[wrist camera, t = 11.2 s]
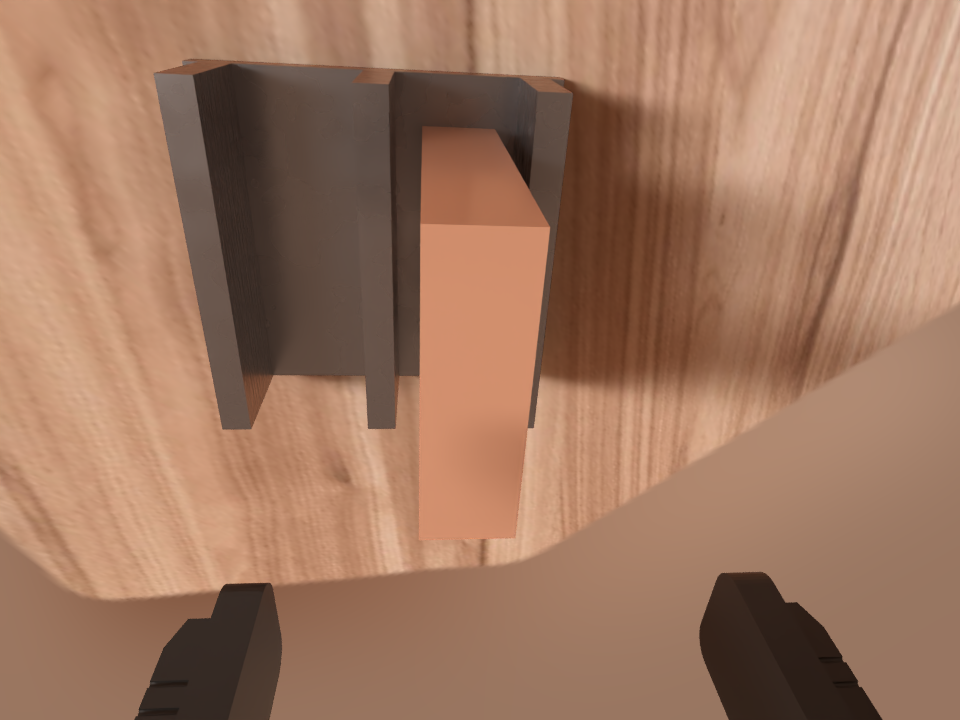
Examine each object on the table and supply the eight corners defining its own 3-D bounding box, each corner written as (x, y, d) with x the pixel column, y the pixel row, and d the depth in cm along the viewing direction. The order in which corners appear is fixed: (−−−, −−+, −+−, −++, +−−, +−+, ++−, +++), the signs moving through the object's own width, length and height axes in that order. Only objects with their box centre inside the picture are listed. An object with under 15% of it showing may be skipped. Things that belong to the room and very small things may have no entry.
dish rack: (190, 58, 24) (133, 72, 19) (559, 77, 26) (590, 94, 21) (241, 364, 31) (208, 429, 26) (528, 366, 33) (546, 427, 28)
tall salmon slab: (422, 125, 25) (420, 223, 14) (494, 129, 25) (550, 227, 14) (421, 340, 30) (419, 539, 19) (481, 341, 30) (515, 538, 19)
